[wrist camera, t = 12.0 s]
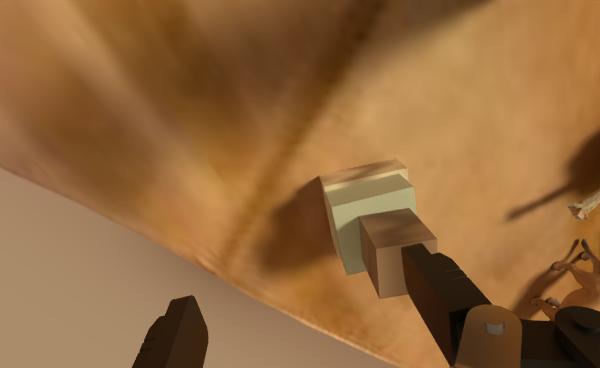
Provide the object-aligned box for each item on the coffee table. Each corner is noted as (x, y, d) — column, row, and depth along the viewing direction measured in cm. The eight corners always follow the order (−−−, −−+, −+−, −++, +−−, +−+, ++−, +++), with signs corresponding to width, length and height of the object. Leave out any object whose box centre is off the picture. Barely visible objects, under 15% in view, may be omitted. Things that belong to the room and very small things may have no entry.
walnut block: (409, 207, 33) (437, 238, 28) (410, 251, 35) (436, 289, 29) (358, 216, 33) (376, 249, 27) (362, 259, 35) (379, 299, 29)
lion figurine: (549, 325, 51) (605, 379, 42) (517, 322, 50) (567, 376, 41) (596, 239, 46) (670, 280, 37) (561, 234, 45) (628, 275, 37)
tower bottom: (394, 157, 40) (407, 167, 36) (402, 224, 43) (414, 240, 39) (318, 174, 40) (323, 186, 36) (332, 240, 43) (338, 258, 39)
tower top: (398, 173, 36) (413, 186, 32) (408, 237, 39) (422, 256, 35) (325, 191, 36) (331, 207, 32) (339, 254, 39) (347, 275, 35)
